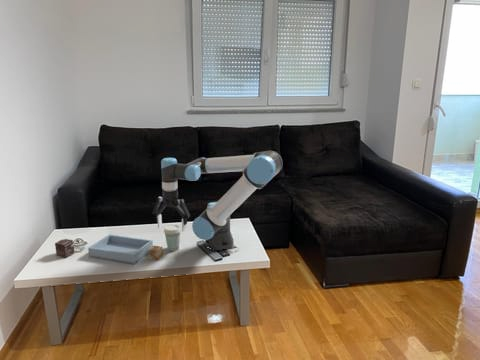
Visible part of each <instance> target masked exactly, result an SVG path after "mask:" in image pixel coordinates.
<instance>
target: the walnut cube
mask: <svg viewBox="0 0 480 360" xmlns="http://www.w3.org/2000/svg"><path fill="white" fill-rule="evenodd" d="M148 252H149V253H148V259H149V260H154V261H159V260H160V259H161V258H163V256H164V249H163V246H159V245H153V246H152V247H151V248H150V249H149V250H148Z"/></svg>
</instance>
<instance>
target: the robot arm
mask: <svg viewBox="0 0 480 360" xmlns="http://www.w3.org/2000/svg"><path fill="white" fill-rule="evenodd" d="M160 164H161V165H160V166H161V167H160V170H161V189H162V190H161V191H162V196H158V197H157V198H156V203H155V205H154V207H153V210H152V212H151V213H152V215H155V220H156V222H157V228H158V229H160V228H162V227H163V224H162V223H163V221H162V219H163V217H162V214H161V213H162V212H163V210H164V209H165V208H166V207H167V208H173V209H175V210H176V211H177V212H178V214H179V215H180V217H181V218H182V219H181V232H184V231H186V228H187V227H186V226H187V224H188V219H189V218H190V217H191V214H190V212H189V209H188V207H187V206H186V204H185V199H184V198H181V199H179V192H178V187H179V186H178V180H185V181H190V182H192V181H194V182H196V181H198V180H199V178H200V177H201V175H202V174H215V173H217V174H218V173H230V172H234V173H236V172H242V176H241V177H240V178H239V179H238V180H237V181H236V183H234V184H233V185H232V186H231V187H230V189H229V190H228V191H226V193H225V194H223V196H221V197H220V198H219V200H217V201H214V202H212V201H211V202H209V203H207V207H206V208H205V210H204V211H203V212H202V213H201V214H200V215H199V216H198V217H196V218H195V219H194V220H193V221H192V226H191V227H192V231H193V234H194V235H195V236H196V237H197V238H198V239H200V240H203V241H205V242H204V245H205V244H206V246H207V247H209V248H211V249H214V250H213V251H218V250H219V251H222V250H221V249H227V250H229V249H231V248H232V247H233V246H234V243H235V242H234V237H233V234H232V232H231V215H232V213H234V211H235V210H237V209H238V208H239V207H240V206H241V205H242V204H243V203H244V202H245V201H246V200H247V199H248V198H250V196H251V195H252V194H253V193H254V192H255V191H256V190H257V189H258V190H261V189H263V188H264V187H265V186H266V185H267V184H268V183H269V182H270V181H271V180H273V178H274V177H275V176H276V175H277V174H279V173H280V172H281V170H282V168H283V159H282V156H281V155H280V154H279V153H278V152H277V151H273V150H266V151H258V152H254V153H253V154H246V155H236V156H235V155H233V156H232V155H231V156H222V157H221V156H220V157H219V156H218V157H207V158H206V157H199V158H196V159H194V160H192V161H190V162H188V163H178V160H177V159H176V158H175V157H164V158H163V159H161V161H160ZM161 203H163V204H162V205H161ZM160 205H161V207H160ZM159 207H160V208H159ZM206 246H205V247H206ZM207 247H206V248H207ZM211 249H210V250H211Z"/></svg>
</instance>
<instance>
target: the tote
mask: <svg viewBox="0 0 480 360" xmlns="http://www.w3.org/2000/svg"><path fill="white" fill-rule="evenodd" d="M152 246H154V242H153V240H152V239H150V240H149V239H145V238H140V237H139V238H138V237H130V236H124V235H116V234H107V235H105V236H104V237H103V238H101V239H100V240H98V241H97V242H94V243H93V244H92V245H90V246H88V248H87V250H88V257H89V258H93V259H98V260H99V259H100V260H105V261H112V262H117V263H118V262H119V263H124V264H130V265H136V264H138V263H139V262H140V261H141V260H143V258H145V257H146V256H147V255H149V252H148V250H149V249H150V248H151V247H152Z"/></svg>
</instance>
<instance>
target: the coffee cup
mask: <svg viewBox="0 0 480 360" xmlns="http://www.w3.org/2000/svg"><path fill="white" fill-rule="evenodd" d="M163 232H164V234H165V235H164V236H165V241H166V247H167V250H168V251H169V252H177V251H178V250H180V243H181V232H182V228H181V227H180V225H179V224H169V225H166V226H165V228H164V230H163Z"/></svg>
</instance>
